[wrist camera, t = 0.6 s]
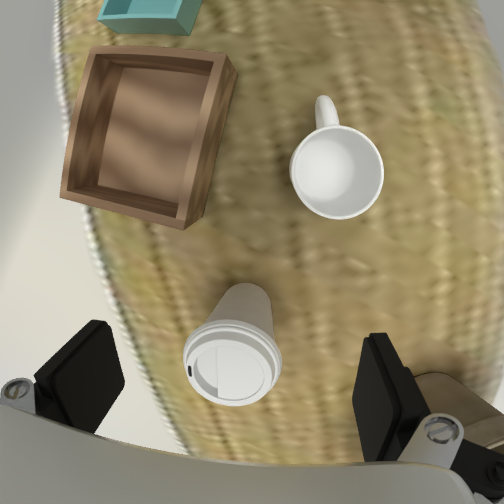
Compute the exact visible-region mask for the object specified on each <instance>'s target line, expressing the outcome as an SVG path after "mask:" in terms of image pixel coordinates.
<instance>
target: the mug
mask: <svg viewBox="0 0 504 504" xmlns="http://www.w3.org/2000/svg"><path fill="white" fill-rule="evenodd" d="M315 118H316V131H314V132H312V133H311V134H309V135H308V136H307V137H306V138H305V139H304V140H303V141H302V142H301V143H300V144H299V145H298V146H297V147H296V149H295V150H294V152H293V154H292V157H291V160H290V165H289V173H290V178H291V182H292V184H293V186H294V189H295V191H296V193H297V195H298V196H299V198H300V199H301V201H302V202H303V203H304V204H305V205H306V206H307V207H308V208H309V209H310V210H312V211H313V212H315V213H316V214H318V215H320V216H323V217H326V218H329V219H348V218H352V217H355V216H357V215H359V214H361V213H363V212H364V211H366V210H367V209H368V208H369V207H370V206H371V205H372V204H373V203H374V202H375V200H376V199H377V197H378V196H379V194H380V191H381V189H382V185H383V179H384V168H383V163H382V159H381V156H380V154H379V152H378V150H377V148H376V147H375V145H374V144H373V143H372V141H371V140H370V139H369V138H368V137H366V136H365V135H364V134H362V133H361V132H359V131H357V130H355V129H353V128H350V127H346V126H340V125H339V120H338V115H337V112H336V108H335V106H334V103H333V101H332V100H331V99H330V98H329V97H328V96H326V95H321V96H319V97H318V98H317V100H316V103H315Z"/></svg>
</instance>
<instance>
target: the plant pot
mask: <svg viewBox="0 0 504 504" xmlns="http://www.w3.org/2000/svg"><path fill="white" fill-rule="evenodd" d="M414 379H415V381H416V383H417V385H418V387H419V389H420V391H421V393H422V395H423V397H424V399H425V401H426V403H427V405H428V407H429V409H430V411H431V414H435V413H444V414H448V415H451V416H453V417H455V418H456V419H457V420H458V421H460V423H461V424H462V426H463V429H464V435H463V439H466V440H468V441H470V442H473V443H475V444H478V445H480V446H483V447H485V448H488V449H491V450H493V451H496V452H498V453H501V454H504V414H502V413H501V412H500V411H498V410H497V409H495V408H494V407H493V406H491V405H490V404H489V403H487V402H486V401H484V400H483V399H481V398H480V397H479V396H477V395H476V394H474V393H473V392H472V391H470V390H469V389H468V388H466V387H465V386H463V385H462V384H461V383H459V382H458V381H456V380H455V379H453V378H451V377H450V376H448V375H446V374H442V373H428V374H424V375H420V376H417V377H415V378H414Z"/></svg>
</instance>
